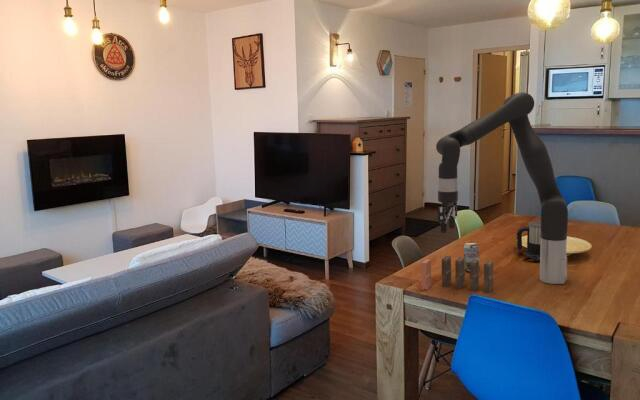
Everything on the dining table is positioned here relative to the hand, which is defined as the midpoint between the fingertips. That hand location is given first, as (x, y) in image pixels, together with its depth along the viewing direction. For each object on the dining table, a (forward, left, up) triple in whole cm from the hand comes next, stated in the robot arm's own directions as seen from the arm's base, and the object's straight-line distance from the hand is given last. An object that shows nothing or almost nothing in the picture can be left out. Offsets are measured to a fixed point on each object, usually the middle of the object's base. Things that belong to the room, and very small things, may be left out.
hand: (447, 230), depth 199 cm
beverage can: (-3, -21, -22) cm, 31 cm away
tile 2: (-10, 0, -22) cm, 24 cm away
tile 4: (+1, 0, -22) cm, 22 cm away
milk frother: (-23, -51, -22) cm, 60 cm away
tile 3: (-5, 0, -22) cm, 23 cm away
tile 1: (-16, 0, -22) cm, 27 cm away
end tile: (+6, +8, -22) cm, 24 cm away
